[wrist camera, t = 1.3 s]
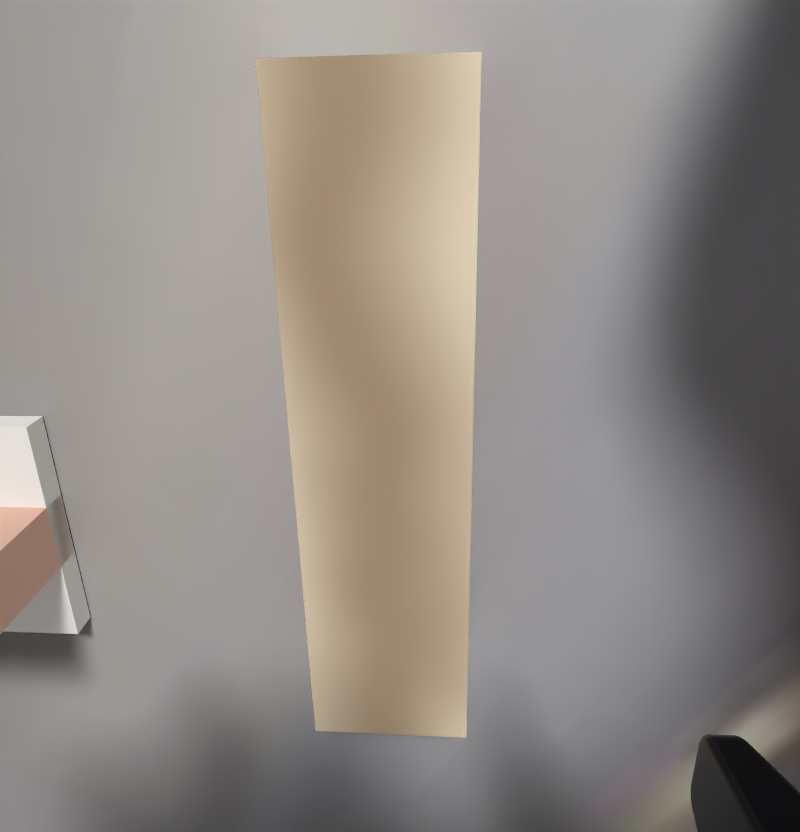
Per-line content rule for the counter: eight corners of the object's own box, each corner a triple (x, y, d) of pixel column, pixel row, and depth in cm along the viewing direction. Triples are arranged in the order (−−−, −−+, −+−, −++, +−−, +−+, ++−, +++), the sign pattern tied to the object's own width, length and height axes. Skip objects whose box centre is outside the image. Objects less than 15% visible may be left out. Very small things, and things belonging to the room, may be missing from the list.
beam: (475, 67, 16) (481, 51, 12) (464, 634, 22) (466, 737, 18) (301, 72, 16) (255, 58, 12) (338, 630, 22) (315, 731, 19)
